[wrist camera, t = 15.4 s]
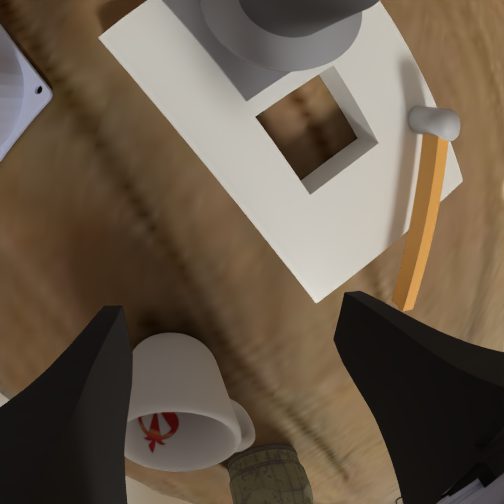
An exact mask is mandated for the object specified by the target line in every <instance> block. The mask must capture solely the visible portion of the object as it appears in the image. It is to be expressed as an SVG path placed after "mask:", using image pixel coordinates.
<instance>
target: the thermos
mask: <svg viewBox="0 0 504 504" xmlns="http://www.w3.org/2000/svg"><path fill="white" fill-rule="evenodd" d="M227 469H228V472H229V475H230V484H229V485H230V489H231V494H232V499H233V503H234V504H313V495H312V490H311V486H310V483H309V480H308V478H307V475H306V472H305V470H304V467H303V466H302V465H301V464H300V462H299V460H298V457H297V452H296V450H295V449H294V448H293V447H291V446H288V445H281V444H272V445H263V446H259V447H255V448H251V449H249V450H246V451H243V452H241V453H239V454H238V455H236V456H234V457H233V458H232V459H231V460H230V461H229V462H228V465H227Z"/></svg>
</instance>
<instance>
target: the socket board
mask: <svg viewBox="0 0 504 504" xmlns="http://www.w3.org/2000/svg"><path fill="white" fill-rule="evenodd" d="M98 38H99V39H100V40H101V41H102V43H103V44H104V45H105V46H106V47H107V48H108V50H109V51H110V52H111V53H112V54H113V55H114V57H115V58H116V59H117V60H118V61H119V62H120V64H121V65H122V66H123V67H124V68H125V69H126V71H127V72H128V73H129V74H130V75H131V76H132V78H133V79H134V80H135V81H136V82H137V83H138V85H139V86H140V87H141V88H142V89H143V91H144V92H145V93H146V94H147V95H148V96H149V98H150V99H151V100H152V101H153V102H154V104H155V105H156V106H157V107H158V108H159V110H160V111H161V112H162V113H163V114H164V116H165V117H166V118H167V119H168V120H169V122H170V123H171V124H172V125H173V126H174V128H175V129H176V130H177V131H178V132H179V134H180V135H181V136H182V137H183V138H184V140H185V141H186V142H187V143H188V144H189V146H190V147H191V148H192V149H193V150H194V152H195V153H196V154H197V155H198V157H199V158H200V159H201V160H202V161H203V163H204V164H205V165H206V166H207V167H208V169H209V170H210V171H211V172H212V174H213V175H214V176H215V177H216V178H217V180H218V181H219V182H220V183H221V185H222V186H223V187H224V188H225V190H226V191H227V192H228V193H229V194H230V196H231V197H232V198H233V199H234V201H235V202H236V203H237V204H238V206H239V207H240V208H241V209H242V211H243V212H244V213H245V214H246V215H247V217H248V218H249V219H250V220H251V222H252V223H253V224H254V225H255V227H256V228H257V229H258V230H259V232H260V233H261V234H262V235H263V237H264V238H265V239H266V240H267V242H268V243H269V244H270V245H271V247H272V248H273V249H274V250H275V252H276V253H277V254H278V255H279V257H280V258H281V259H282V261H283V262H284V263H285V264H286V266H287V267H288V268H289V269H290V271H291V272H292V273H293V274H294V276H295V277H296V278H297V279H298V281H299V282H300V283H301V285H302V286H303V287H304V288H305V290H306V291H307V292H308V293H309V295H310V296H311V297H312V299H313V300H314V301H315V302H316V303H318V302H319V301H320V300H322V299H323V298H324V297H326V296H327V295H328V294H330V293H331V292H332V291H334V290H335V289H336V288H338V287H339V286H340V285H341V284H343V283H344V282H345V281H347V280H348V279H349V278H350V277H352V276H353V275H354V274H356V273H357V272H358V271H359V270H361V269H362V268H363V267H364V266H366V265H367V264H368V263H369V262H371V261H372V260H373V259H374V258H376V257H377V256H378V255H379V254H380V253H382V252H383V251H384V250H385V249H386V248H388V247H389V246H390V245H391V244H393V243H394V242H395V241H396V240H397V239H398V238H400V237H401V236H402V235H403V234H404V233H406V232H407V231H408V230H409V226H410V220H411V215H412V209H413V204H414V198H415V191H416V185H417V178H418V171H419V163H420V155H421V146H422V136H423V135H421V134H417V133H415V132H413V131H412V129H411V128H410V125H409V120H408V117H409V113H410V111H411V109H412V108H413V107H415V106H426V107H435V108H437V106H436V104H435V102H434V99H433V97H432V95H431V93H430V90H429V88H428V86H427V84H426V82H425V80H424V78H423V75H422V73H421V71H420V69H419V67H418V65H417V63H416V61H415V60H414V58H413V56H412V54H411V52H410V50H409V48H408V46H407V45H406V43H405V41H404V39H403V38H402V36H401V34H400V32H399V31H398V29H397V27H396V26H395V24H394V22H393V21H392V19H391V17H390V16H389V14H388V13H387V11H386V10H385V8H384V6H383V5H382V3H381V2H380V0H379V2H378V3H376V4H375V5H374V6H372V7H370V8H369V9H366V10H364V11H362V22H361V27H360V30H359V33H358V35H357V37H356V39H355V41H354V42H353V44H352V45H351V46H350V48H349V49H348V50H347V51H346V52H345V53H344V54H343V55H341V56H340V57H338V58H337V59H336V60H334V61H332V62H330V63H328V64H325V65H322V66H320V67H316V68H313V69H308V70H304V71H294V72H290V71H276V70H270V69H266V68H262V67H259V66H256V65H254V64H251V63H249V62H247V61H245V60H243V59H241V58H239V57H238V56H236V55H235V54H233V53H232V52H230V51H229V50H228V49H227V48H225V47H224V46H223V45H222V44H221V43H220V42H219V41H218V40H217V39H216V38H215V36H214V35H213V34H212V32H211V31H210V29H209V28H208V26H207V24H206V22H205V20H204V17H203V14H202V11H201V6H200V0H147V1H146V2H144V3H143V4H141V5H140V6H138V7H137V8H136V9H134V10H133V11H131V12H130V13H129V14H127V15H126V16H125V17H123V18H122V19H121V20H119V21H118V22H117V23H116V24H114V25H113V26H112V27H110V28H109V29H108V30H107V31H106V32H104V33H103V34H102V35H101V36H99V37H98ZM318 74H319V76H320V77H321V79H322V80H323V82H324V84H325V85H326V87H327V88H328V90H329V91H330V93H331V94H332V96H333V98H334V99H335V101H336V102H337V104H338V106H339V107H340V109H341V111H342V112H343V114H344V116H345V117H346V119H347V121H348V122H349V124H350V126H351V128H352V129H353V131H354V133H355V135H356V136H357V139H356V140H355V141H353V142H352V143H351V144H349V145H348V146H346V147H345V148H344V149H342V150H341V151H340V152H338V153H337V154H336V155H334V156H333V157H332V158H330V159H329V160H327V161H326V162H325V163H323V164H322V165H321V166H319V167H318V168H317V169H315V170H314V171H313V172H311V173H310V174H309V175H307V176H306V177H305V178H303V179H302V180H301V181H300V179H299V178H298V177H297V175H296V174H295V172H294V171H293V169H292V168H291V166H290V165H289V163H288V162H287V161H286V159H285V158H284V156H283V155H282V153H281V152H280V151H279V149H278V148H277V146H276V145H275V144H274V142H273V141H272V139H271V138H270V137H269V135H268V134H267V132H266V131H265V130H264V128H263V127H262V126H261V124H260V123H259V122H258V120H257V119H256V116H257V115H258V114H260V113H261V112H263V111H264V110H265V109H267V108H268V107H270V106H271V105H273V104H274V103H276V102H277V101H278V100H280V99H281V98H283V97H284V96H286V95H287V94H289V93H290V92H292V91H293V90H295V89H296V88H298V87H299V86H301V85H303V84H304V83H306V82H307V81H309V80H310V79H312V78H313V77H315V76H317V75H318ZM462 181H463V179H462V176H461V172H460V169H459V166H458V163H457V160H456V157H455V154H454V151H453V148H452V145H451V142H450V141H449V142H448V151H447V159H446V166H445V173H444V180H443V186H442V192H441V198H440V202H441V201H442V200H443V199H444V198H445V197H446V196H447V195H448V194H449V193H451V192H452V191H453V190H454V189H455V188H456V187H457V186H458V185H459V184H460V183H461V182H462Z"/></svg>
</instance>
